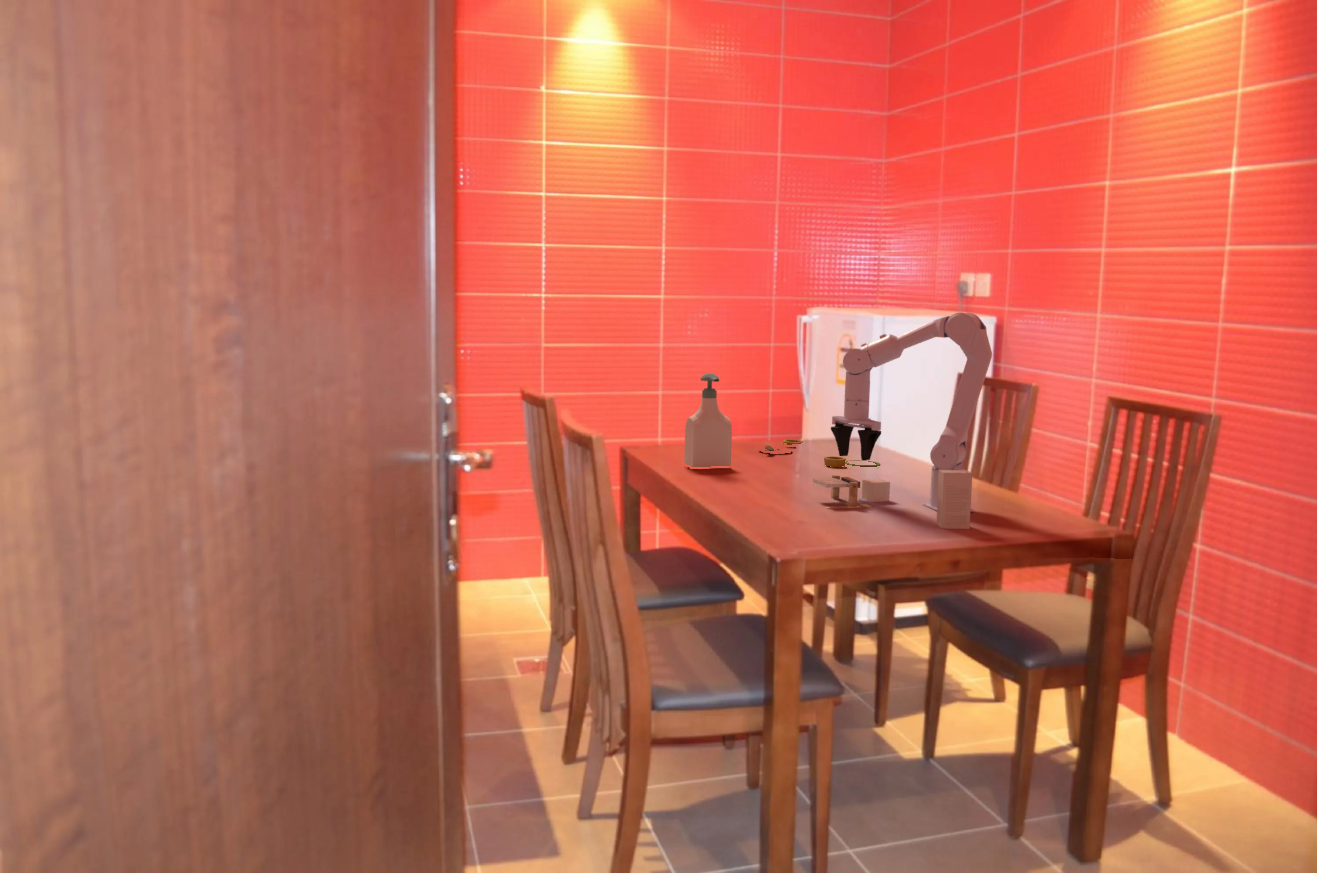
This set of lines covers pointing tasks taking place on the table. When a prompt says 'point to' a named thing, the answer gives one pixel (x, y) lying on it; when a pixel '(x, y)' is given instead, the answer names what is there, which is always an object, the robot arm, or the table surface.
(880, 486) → the beige block
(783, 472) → the table surface
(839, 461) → the tableware set
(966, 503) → the skincare box
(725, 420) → the soap bottle
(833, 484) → the trapdoor
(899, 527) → the table surface
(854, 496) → the frame
